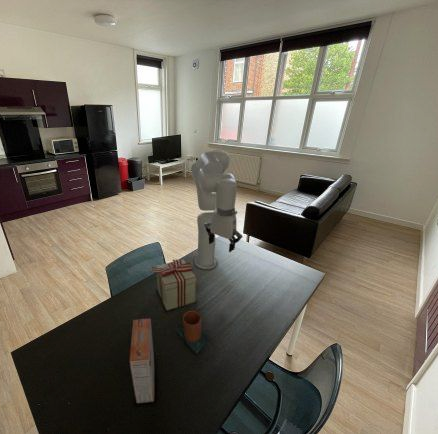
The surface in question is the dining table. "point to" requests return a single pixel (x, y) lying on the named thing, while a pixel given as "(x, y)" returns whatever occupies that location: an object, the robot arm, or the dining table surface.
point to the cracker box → (142, 360)
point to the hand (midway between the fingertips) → (221, 246)
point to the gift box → (176, 283)
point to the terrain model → (197, 344)
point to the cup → (192, 326)
